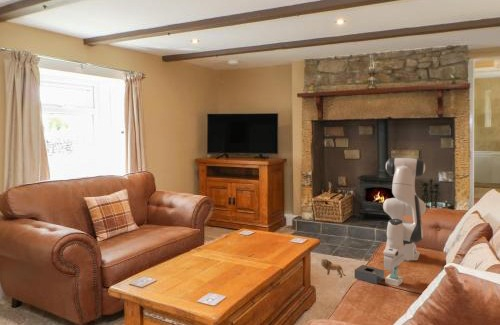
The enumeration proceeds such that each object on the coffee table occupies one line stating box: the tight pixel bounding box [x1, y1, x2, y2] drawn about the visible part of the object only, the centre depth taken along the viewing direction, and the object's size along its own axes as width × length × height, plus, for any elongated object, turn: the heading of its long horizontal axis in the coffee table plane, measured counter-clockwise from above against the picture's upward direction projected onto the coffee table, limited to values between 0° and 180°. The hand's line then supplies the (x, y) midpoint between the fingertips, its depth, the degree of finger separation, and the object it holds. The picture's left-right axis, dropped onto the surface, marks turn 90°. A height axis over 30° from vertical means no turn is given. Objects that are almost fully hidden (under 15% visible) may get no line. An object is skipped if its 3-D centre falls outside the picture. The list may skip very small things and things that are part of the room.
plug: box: [389, 266, 399, 280], centre depth 216 cm, size 3×3×9 cm
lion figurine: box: [320, 258, 347, 279], centre depth 228 cm, size 15×5×9 cm, turn 66°
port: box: [354, 264, 385, 285], centre depth 223 cm, size 10×13×5 cm
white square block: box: [384, 274, 404, 287], centre depth 217 cm, size 7×7×3 cm
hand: (394, 273), depth 216 cm, fingers closed on plug, 3 cm apart
